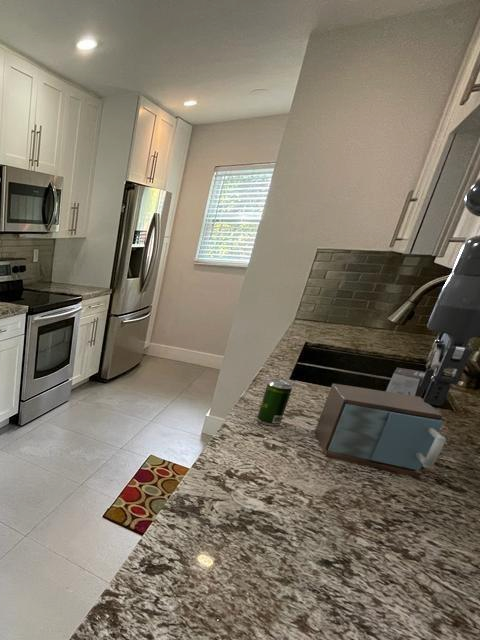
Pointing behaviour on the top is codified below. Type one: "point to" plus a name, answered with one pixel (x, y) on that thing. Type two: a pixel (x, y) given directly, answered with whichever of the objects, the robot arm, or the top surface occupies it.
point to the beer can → (274, 402)
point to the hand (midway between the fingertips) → (429, 396)
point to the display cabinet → (364, 423)
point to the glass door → (409, 441)
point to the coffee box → (406, 382)
